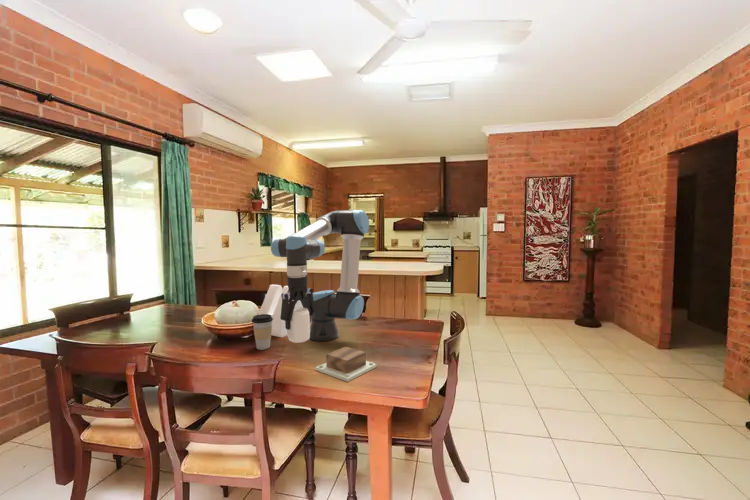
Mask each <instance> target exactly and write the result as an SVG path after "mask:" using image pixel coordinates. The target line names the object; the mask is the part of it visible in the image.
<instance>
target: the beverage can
mask: <svg viewBox="0 0 750 500" xmlns="http://www.w3.org/2000/svg"><path fill="white" fill-rule="evenodd" d="M291 321H293V338H289V337H288V341H289V342H292V343H294V344H296V343H299V344H300V343H305V342H307V341H308V340H310V339H309V338H310V326H311V323H309V311H308V309H307V308H303V307H298V308H294V311H293V315H292V318H291Z"/></svg>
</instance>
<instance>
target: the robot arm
mask: <svg viewBox="0 0 750 500" xmlns="http://www.w3.org/2000/svg"><path fill="white" fill-rule="evenodd" d="M369 230H370V221H369V217H368V214H367V213H366V212H365V211H364V210H362V209H344V210H343V209H342V210H339V209H338V210H333V211H330V212H327V213H326V214H323V215H321V216H319V217H317V218H316V219H315V220H314V222H312V223H310V224H309V225H307V226H304V228H302V229H300V230H298V231H296V232H294V233H292V234H291V235H289V236H287V237H285V238H279V239H274V240H273V241H272V242H271V245H270V253H271V254H272V255H273V256H274V257H276V258H286V275H287V278H286V279H287V280H286V282H287V284H286V286H288V288H289V289H288V292H287V293H285V294H284V293H282V294H281V296H282V307H281V318H280V319H281V320H284V321H285V326H286V329H287V335H286V337H287V338H288V339H289V338H293V321H291V318H292V315H293V311H294V308H295V304H296V303H297V301H298V300H300V301H301V303H302V306H303V308H307V309H308V311H309V323H310V338H309V339H308V340H312V341H319V342H324V341H325V342H326V341H331V340H332V341H333V340H334V339H337V338H338V337H339V330H338V326H337V324H336V321H335V320H336V319H343V320H356V319H358V318H359V317H360V316H361V315H362V312H363V310H364V306H365V300H364V296H361V291H360V290H359V289H358V282H359V267H360V256H361V255H360V252H361V241H362V240H363V239H364V237H365V234H367V233H369ZM330 234H340V237H341V238H342V239H343V241H342V242H343V243H342V254H341V267H340V268H341V269H340V280H339V281H340V283H339V288H337V290H336V293H335V291H334V290H333V289H329V290H328V289H326V290H320V291H316V292H314V288H310V287H307V286H308V283H309V282H308V276H307V275H308V259H315V258H316V259H317V258H319V257H321V256H323V255H324V253H325V251H326V248H325V244H324V242H323V241H322V240H320V239H319V238H321V237H323V236H328V235H330ZM289 296H290V297H289ZM292 300H294V301H292Z"/></svg>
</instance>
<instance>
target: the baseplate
mask: <svg viewBox="0 0 750 500" xmlns="http://www.w3.org/2000/svg"><path fill="white" fill-rule="evenodd" d="M375 368H377V363H375V362H373V361H368V360H366V365H364V366H362V367H360V368H358V369H356V370H354V371H352V372H350V373H348V374H347V373H344V372H341V371H338V370H335V369H332V368H329V367H327V363H326V362H325V363H322V364H318V365H317V366H315V371H316V372H320V373H322V374H325V375H328V376H331V377H334V378H337V379H339V380H342V381H344V382H347V383H348V382H350V381H352V380H354V379H356V378H357V377H360V376H361V375H363V374H366V373H367V372H369V371H371V370H373V369H375Z"/></svg>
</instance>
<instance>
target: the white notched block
mask: <svg viewBox="0 0 750 500" xmlns="http://www.w3.org/2000/svg"><path fill="white" fill-rule="evenodd" d="M288 289H289V288H288V285H285V286H283V287H282V285H281V284H270V285H269V287H268V289H267V293H266V295H265V297H264V299H263V302H262V304H261V306H260V309H259V312H258V315H259V314H269V315H271V317H272V318H273V320H272V331H271V337H272V336H274V337H278V338H284V337H287V329H286V326H285V321H284V320H281V319H280V318H281V307H282V296H281V294H282V293H284V294H285V293H287V292H288ZM289 297H290V296H289ZM292 301H294V300H292ZM298 307H303V306H302V303H301V301H300V300H298V301H297V303H296V304H295V308H298Z"/></svg>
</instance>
